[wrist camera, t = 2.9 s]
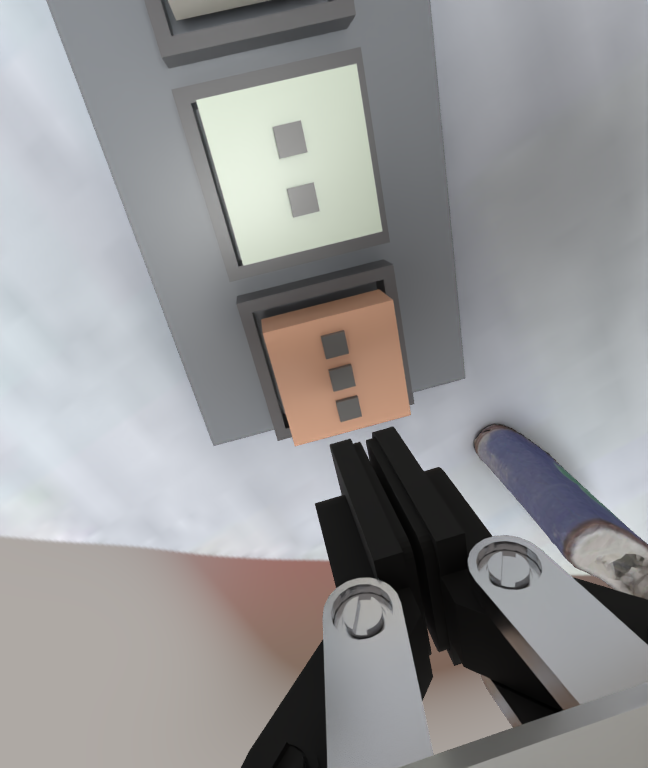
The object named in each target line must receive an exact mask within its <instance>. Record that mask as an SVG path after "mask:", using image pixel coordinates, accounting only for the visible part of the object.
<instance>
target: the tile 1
mask: <svg viewBox="0 0 648 768" xmlns="http://www.w3.org/2000/svg"><path fill="white" fill-rule="evenodd" d="M265 1H270V0H168V2H169V5H170V7H171V9H172V12H173V14H174V16H175V19H176V21H177V20H182V19H187V18H191V17H196V16H200V15H205V14H210V13H214V12H219V11H223V10H228V9H233V8H237V7H242V6H246V5H251V4H256V3H260V2H265Z"/></svg>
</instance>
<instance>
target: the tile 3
mask: <svg viewBox="0 0 648 768" xmlns="http://www.w3.org/2000/svg"><path fill="white" fill-rule="evenodd" d="M261 323H262V332H263V336H264V340H265V343H266V347H267V350H268V354H269V357H270V361H271V364H272V368H273V371H274V375H275V378H276V382H277V385H278V389H279V392H280V396H281V399H282V403H283V406H284V410H285V413H286V417H287V420H288V424H289V427H290V430H291V434H292V437H293V441H294V444H295V446H298V445H302V444H305V443H309V442H313V441H317V440H320V439H324V438H328V437H331V436H335V435H339V434H342V433H346V432H350V431H353V430H357V429H361V428H364V427H368V426H372V425H376V424H379V423H383V422H387V421H390V420H394V419H398V418H401V417H405V416H409V415H411V412H410V406H409V399H408V393H407V387H406V380H405V374H404V367H403V361H402V354H401V348H400V341H399V335H398V328H397V322H396V315H395V309H394V302H393V300H392V299H391V298H390V297H389V296H387V295H386V294H385V293H383V292H382V291H381V290H379V289H378V290H374V291H370V292H366V293H362V294H358V295H354V296H350V297H346V298H342V299H339V300H335V301H331V302H327V303H323V304H319V305H315V306H311V307H307V308H303V309H299V310H295V311H291V312H288V313H284V314H280V315H276V316H272V317H268V318H264V319H261Z"/></svg>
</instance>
